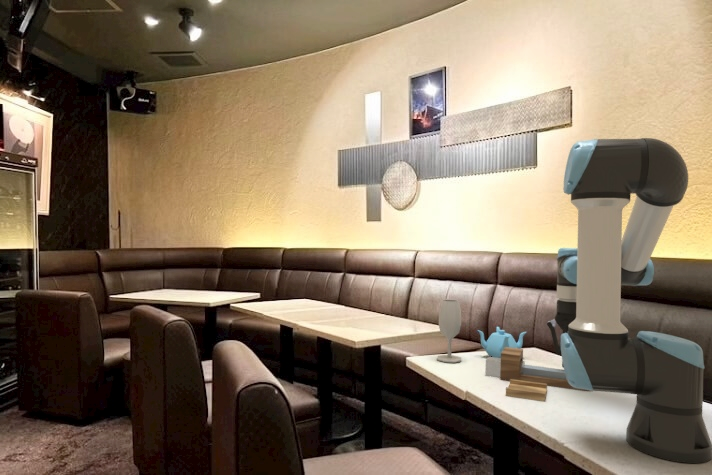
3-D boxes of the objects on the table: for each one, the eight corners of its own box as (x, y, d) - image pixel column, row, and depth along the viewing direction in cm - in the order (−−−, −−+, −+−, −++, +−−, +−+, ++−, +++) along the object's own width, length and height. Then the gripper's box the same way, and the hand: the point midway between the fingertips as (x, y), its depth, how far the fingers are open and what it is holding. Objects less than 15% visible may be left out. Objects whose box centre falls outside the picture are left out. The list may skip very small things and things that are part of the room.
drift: (566, 382, 148) (566, 370, 148) (565, 386, 144) (565, 373, 144) (524, 376, 153) (524, 364, 153) (522, 379, 150) (522, 367, 150)
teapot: (497, 352, 186) (497, 325, 186) (528, 359, 175) (529, 331, 175) (475, 357, 178) (476, 329, 178) (507, 365, 167) (507, 335, 167)
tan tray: (544, 401, 130) (545, 393, 130) (505, 395, 134) (505, 388, 134) (546, 390, 139) (547, 383, 139) (510, 385, 143) (510, 378, 143)
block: (524, 377, 153) (524, 361, 153) (522, 381, 149) (522, 364, 149) (488, 372, 158) (489, 356, 158) (485, 375, 154) (485, 359, 154)
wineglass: (465, 359, 173) (466, 300, 173) (456, 364, 166) (457, 302, 166) (442, 356, 178) (443, 298, 178) (432, 360, 171) (433, 300, 171)
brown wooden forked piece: (589, 391, 139) (590, 363, 139) (500, 379, 149) (500, 353, 149) (588, 382, 149) (589, 355, 148) (504, 371, 159) (505, 346, 159)
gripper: (594, 300, 147) (592, 378, 147) (547, 297, 152) (546, 373, 152) (594, 303, 140) (593, 385, 140) (546, 299, 146) (544, 379, 146)
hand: (568, 379), depth 146 cm, fingers closed
